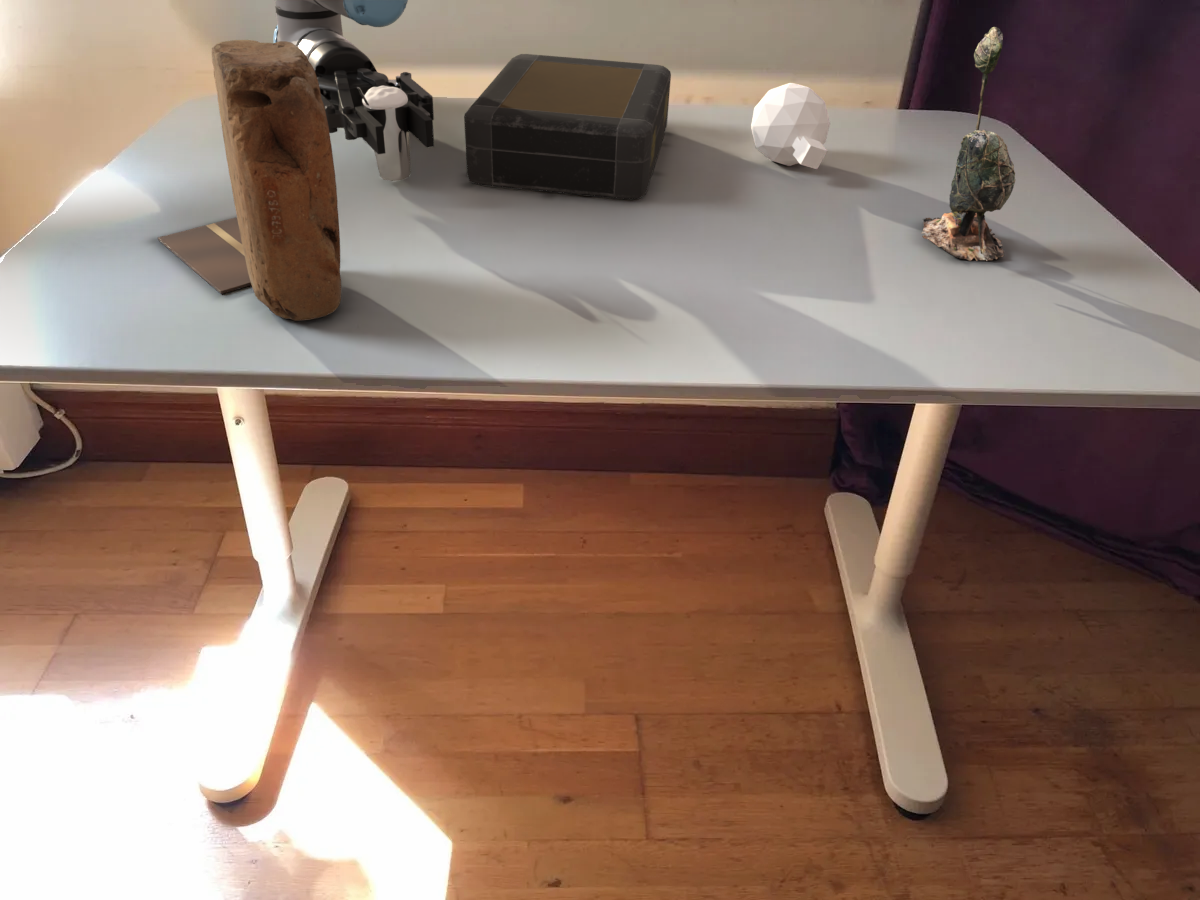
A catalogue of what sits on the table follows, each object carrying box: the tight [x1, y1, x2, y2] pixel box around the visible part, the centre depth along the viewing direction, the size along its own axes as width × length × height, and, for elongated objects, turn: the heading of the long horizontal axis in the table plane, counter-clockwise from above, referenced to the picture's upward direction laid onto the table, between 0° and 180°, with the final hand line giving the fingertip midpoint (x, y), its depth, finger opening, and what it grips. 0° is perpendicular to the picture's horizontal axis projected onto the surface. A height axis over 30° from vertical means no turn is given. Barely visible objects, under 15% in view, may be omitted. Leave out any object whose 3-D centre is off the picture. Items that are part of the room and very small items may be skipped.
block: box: [211, 39, 342, 322], centre depth 75 cm, size 11×8×20 cm
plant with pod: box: [921, 26, 1016, 262], centre depth 89 cm, size 8×11×20 cm
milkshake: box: [357, 86, 412, 182], centre depth 99 cm, size 4×5×10 cm
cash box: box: [463, 53, 672, 201], centre depth 109 cm, size 25×20×8 cm
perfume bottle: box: [750, 82, 831, 170], centre depth 109 cm, size 9×9×12 cm
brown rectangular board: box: [157, 216, 252, 295], centre depth 88 cm, size 14×10×1 cm
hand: (405, 136), depth 95 cm, fingers closed on milkshake, 4 cm apart
